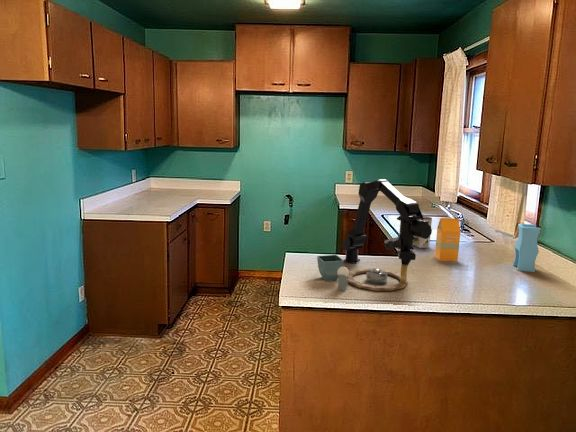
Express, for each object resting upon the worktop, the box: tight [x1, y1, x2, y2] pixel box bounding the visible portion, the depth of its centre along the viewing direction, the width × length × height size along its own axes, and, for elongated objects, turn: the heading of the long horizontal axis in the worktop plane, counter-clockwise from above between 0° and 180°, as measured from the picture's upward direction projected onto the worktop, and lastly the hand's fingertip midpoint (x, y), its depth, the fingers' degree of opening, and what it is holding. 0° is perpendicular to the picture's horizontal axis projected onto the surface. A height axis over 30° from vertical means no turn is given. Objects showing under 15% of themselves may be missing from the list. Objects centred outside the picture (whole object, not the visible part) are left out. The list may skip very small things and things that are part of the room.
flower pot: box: [316, 254, 345, 282], centre depth 194 cm, size 9×9×9 cm
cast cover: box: [365, 267, 388, 286], centre depth 193 cm, size 8×8×5 cm
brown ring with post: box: [348, 263, 409, 292], centre depth 192 cm, size 24×24×8 cm
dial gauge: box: [337, 266, 350, 292], centre depth 182 cm, size 3×4×9 cm
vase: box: [512, 223, 542, 273], centre depth 212 cm, size 8×8×20 cm
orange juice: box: [434, 217, 461, 262], centre depth 226 cm, size 8×9×20 cm
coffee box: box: [413, 214, 433, 249], centre depth 250 cm, size 9×6×16 cm
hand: (403, 270), depth 190 cm, fingers closed
